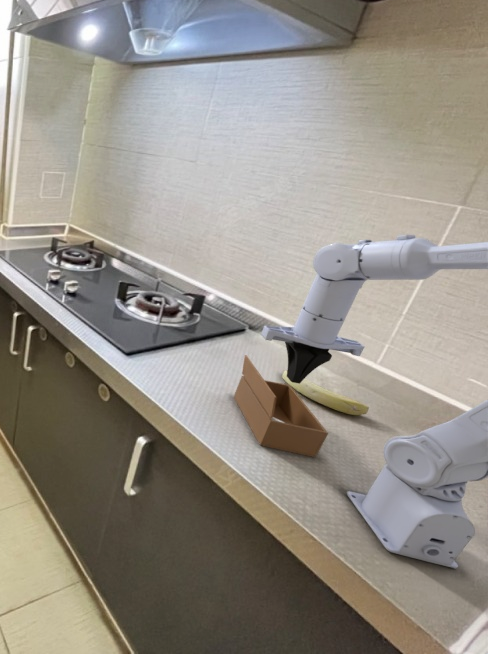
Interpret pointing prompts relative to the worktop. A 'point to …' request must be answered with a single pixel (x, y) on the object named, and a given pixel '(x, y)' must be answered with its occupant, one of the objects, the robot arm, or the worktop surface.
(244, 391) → the carton
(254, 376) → the brown box flap
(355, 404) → the fruit
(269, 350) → the worktop surface
